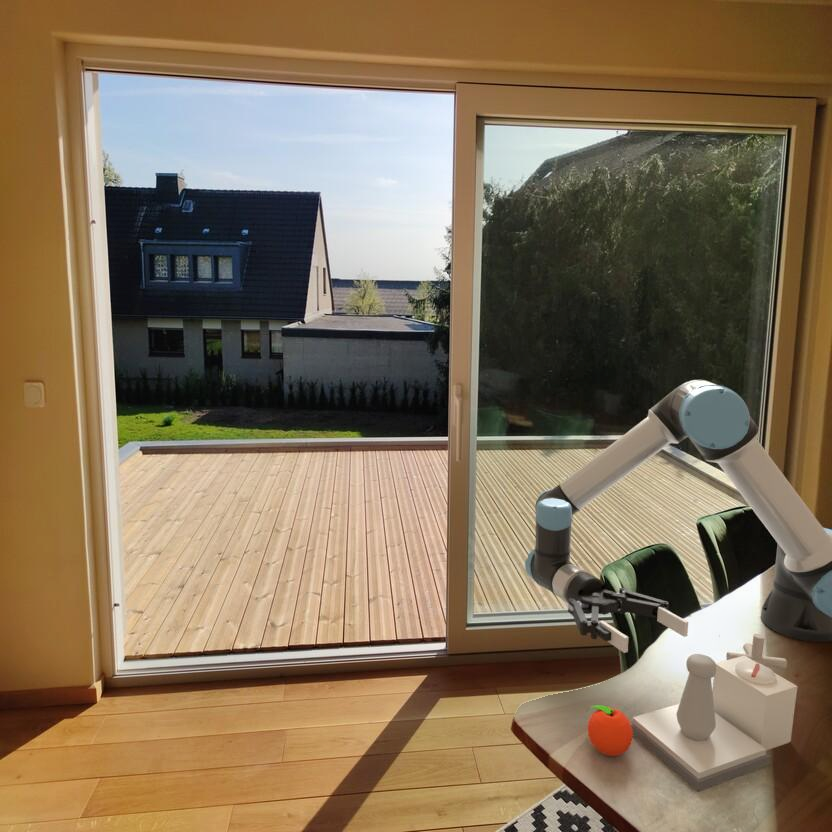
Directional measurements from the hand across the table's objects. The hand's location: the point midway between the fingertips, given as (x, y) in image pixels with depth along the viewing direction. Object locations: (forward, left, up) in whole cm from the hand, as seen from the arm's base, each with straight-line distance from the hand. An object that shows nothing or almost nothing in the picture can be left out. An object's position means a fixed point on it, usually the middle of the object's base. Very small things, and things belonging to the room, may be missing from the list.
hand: (657, 637), depth 112 cm
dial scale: (-3, +11, -14) cm, 18 cm away
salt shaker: (+1, +11, -11) cm, 15 cm away
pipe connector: (-23, +2, -14) cm, 27 cm away
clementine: (+15, +6, -14) cm, 21 cm away
